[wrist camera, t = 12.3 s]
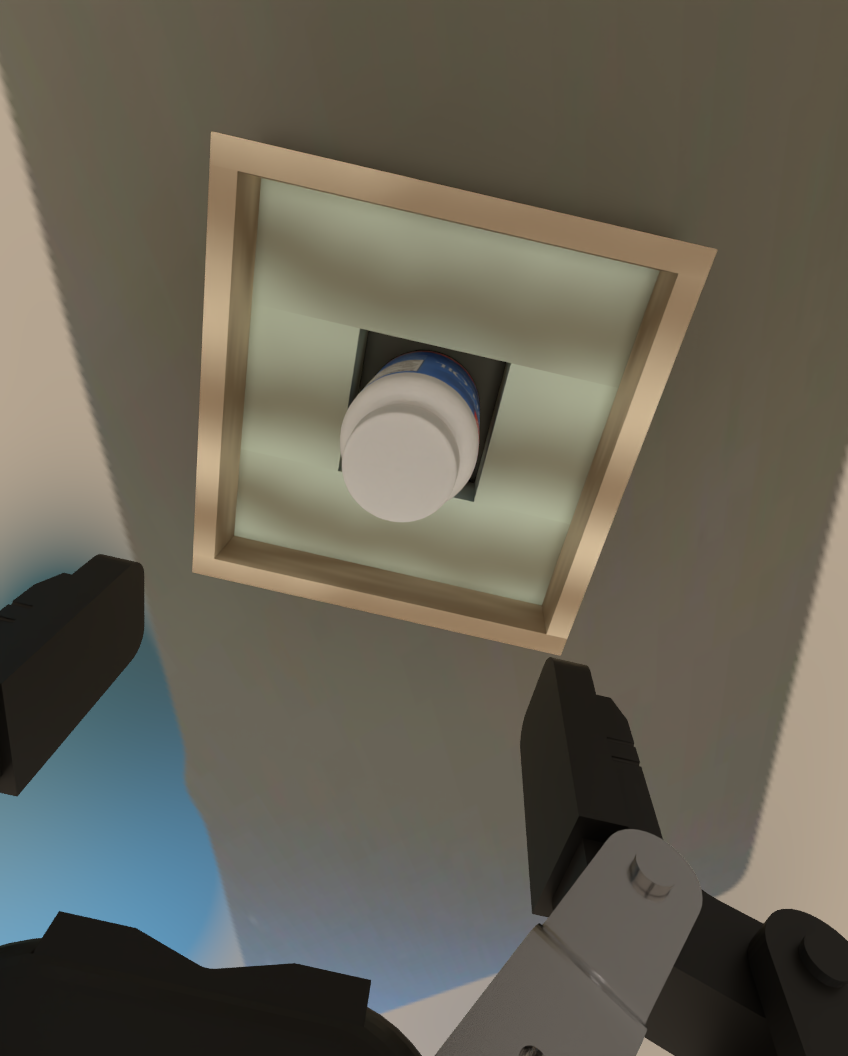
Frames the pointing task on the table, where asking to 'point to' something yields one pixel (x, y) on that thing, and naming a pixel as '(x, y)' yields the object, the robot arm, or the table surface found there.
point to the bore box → (441, 320)
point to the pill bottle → (411, 437)
